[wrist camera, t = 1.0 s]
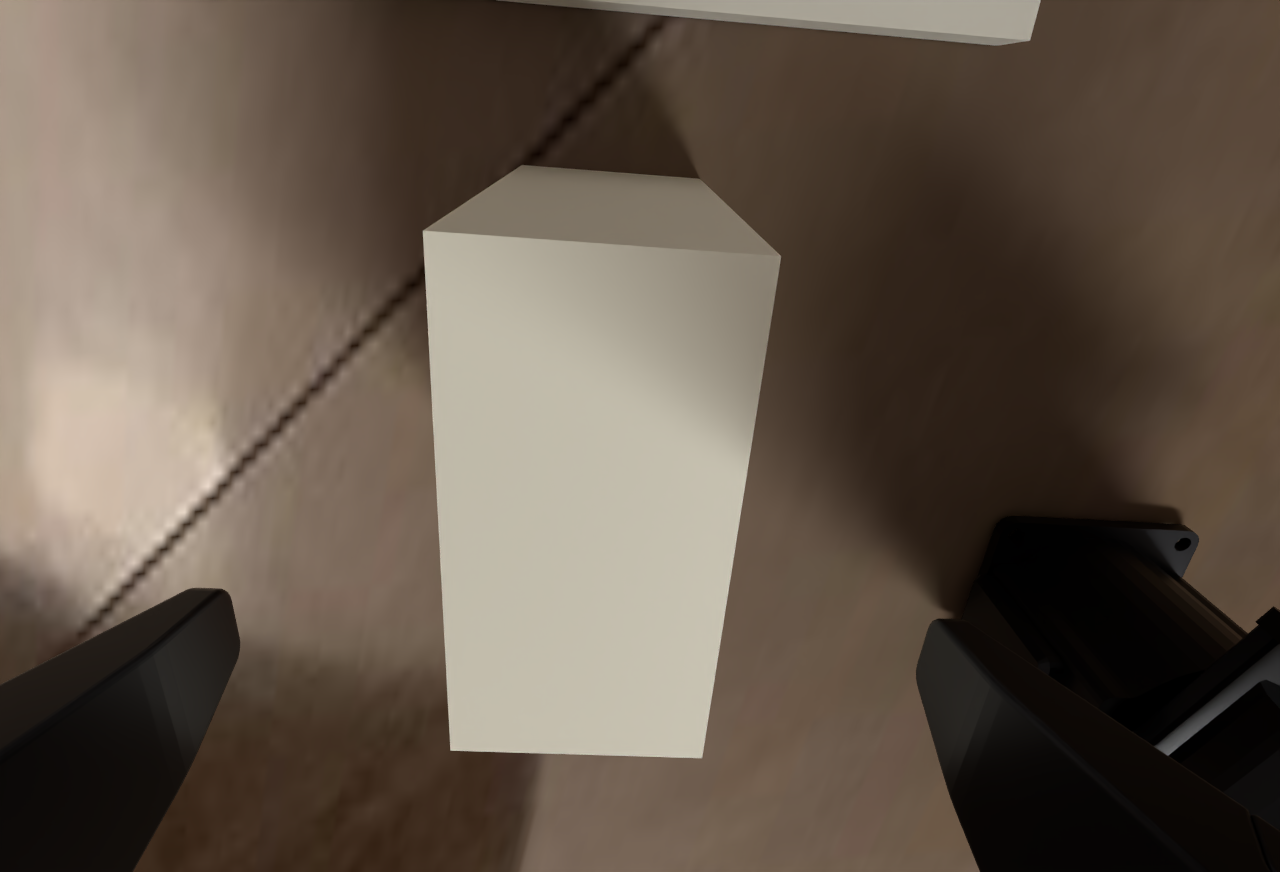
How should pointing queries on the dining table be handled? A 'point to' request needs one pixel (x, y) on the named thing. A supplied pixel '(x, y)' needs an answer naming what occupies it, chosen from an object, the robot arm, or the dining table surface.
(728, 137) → the dining table surface
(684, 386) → the cream carton
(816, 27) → the shelf
